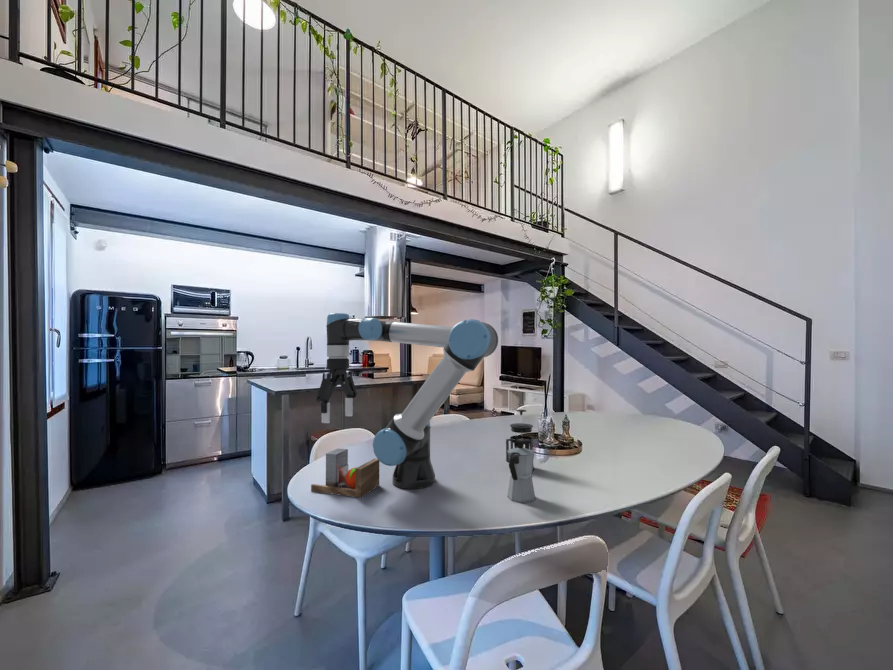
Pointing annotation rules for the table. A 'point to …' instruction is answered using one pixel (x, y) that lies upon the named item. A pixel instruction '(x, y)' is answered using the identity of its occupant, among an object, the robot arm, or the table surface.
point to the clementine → (351, 478)
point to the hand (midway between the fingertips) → (337, 419)
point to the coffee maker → (521, 474)
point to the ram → (336, 467)
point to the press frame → (356, 481)
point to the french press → (520, 429)
